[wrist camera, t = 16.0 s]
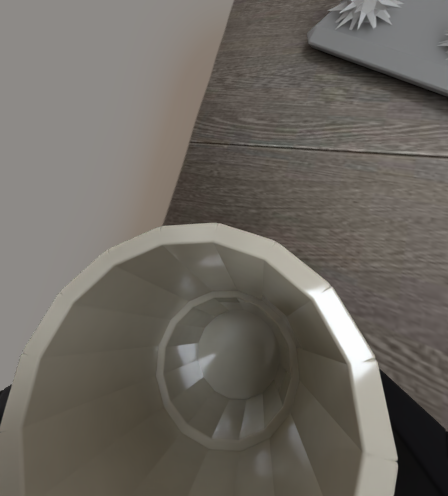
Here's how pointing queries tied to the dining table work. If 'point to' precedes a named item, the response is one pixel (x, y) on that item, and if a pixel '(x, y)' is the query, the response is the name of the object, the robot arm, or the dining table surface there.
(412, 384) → the dining table surface
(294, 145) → the dining table surface
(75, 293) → the cream faceted tumbler
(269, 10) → the dining table surface
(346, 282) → the dining table surface
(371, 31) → the decorative tray
